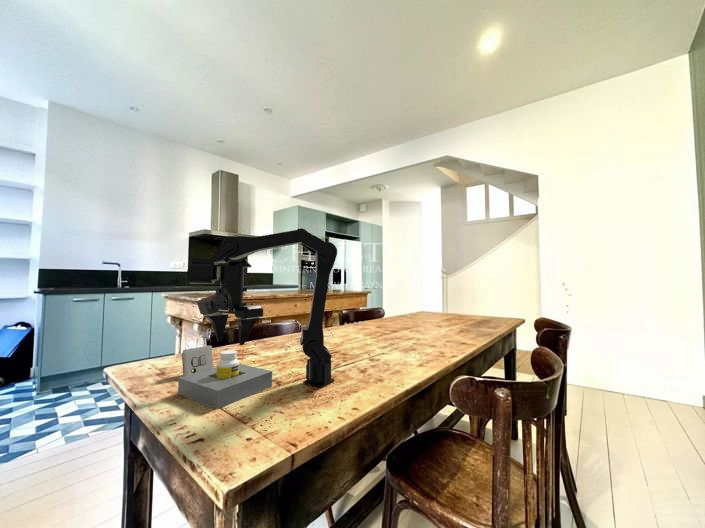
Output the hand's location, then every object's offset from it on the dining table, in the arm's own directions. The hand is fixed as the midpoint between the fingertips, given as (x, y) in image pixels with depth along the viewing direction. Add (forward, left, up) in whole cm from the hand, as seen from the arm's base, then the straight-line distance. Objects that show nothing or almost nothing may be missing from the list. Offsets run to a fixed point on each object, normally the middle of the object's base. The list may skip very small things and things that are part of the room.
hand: (230, 343), depth 74 cm
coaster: (-21, +5, -13) cm, 25 cm away
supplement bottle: (0, +1, -12) cm, 12 cm away
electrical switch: (+19, -2, -12) cm, 23 cm away
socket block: (0, +1, -12) cm, 12 cm away
